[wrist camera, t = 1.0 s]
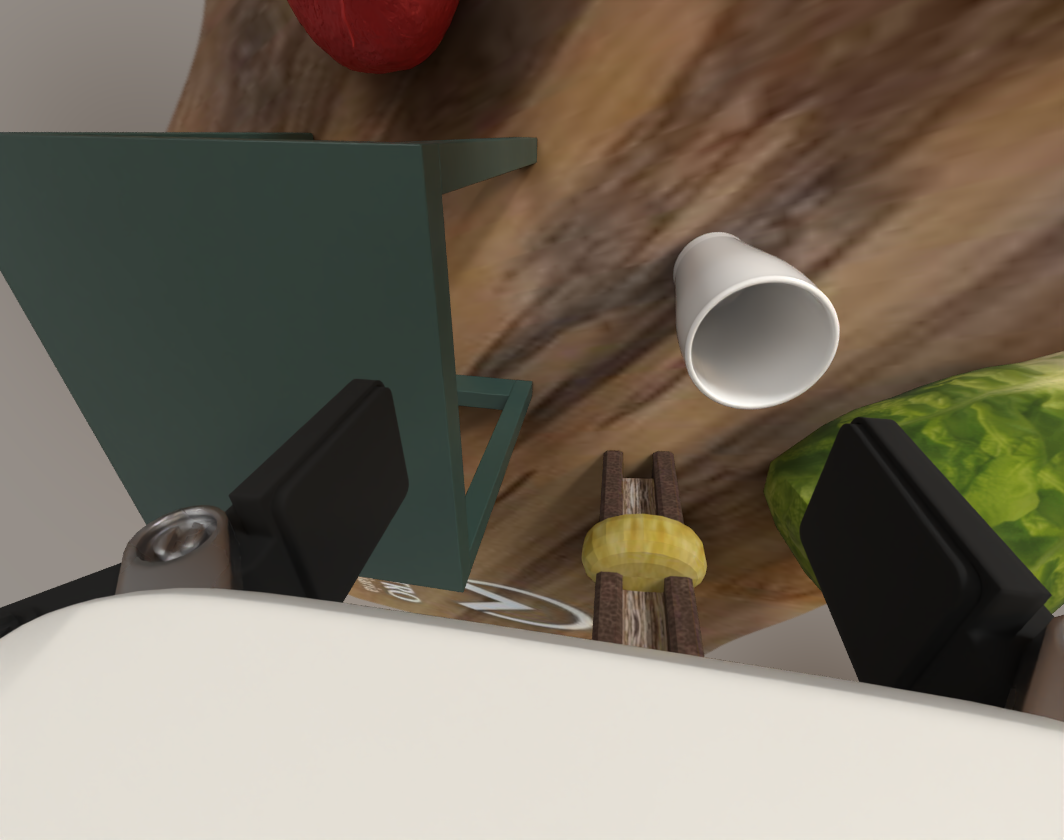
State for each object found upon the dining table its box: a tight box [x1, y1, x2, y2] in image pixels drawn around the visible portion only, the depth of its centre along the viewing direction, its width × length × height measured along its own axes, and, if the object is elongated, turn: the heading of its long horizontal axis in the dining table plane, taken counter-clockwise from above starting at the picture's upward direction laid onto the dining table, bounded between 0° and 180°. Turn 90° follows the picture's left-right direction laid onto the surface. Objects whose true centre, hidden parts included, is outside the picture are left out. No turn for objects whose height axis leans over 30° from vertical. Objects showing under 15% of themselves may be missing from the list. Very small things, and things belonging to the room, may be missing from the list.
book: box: [582, 451, 707, 657], centre depth 37 cm, size 22×8×25 cm, turn 6°
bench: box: [0, 132, 537, 592], centre depth 29 cm, size 20×18×22 cm
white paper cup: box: [673, 232, 840, 409], centre depth 28 cm, size 7×7×15 cm
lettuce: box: [763, 351, 1064, 614], centre depth 32 cm, size 17×23×16 cm
